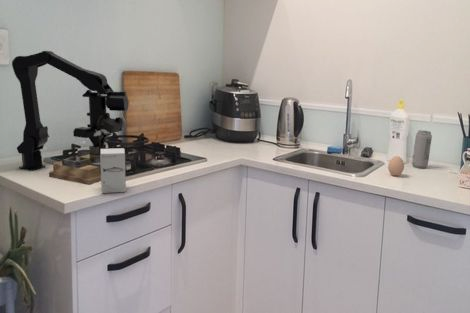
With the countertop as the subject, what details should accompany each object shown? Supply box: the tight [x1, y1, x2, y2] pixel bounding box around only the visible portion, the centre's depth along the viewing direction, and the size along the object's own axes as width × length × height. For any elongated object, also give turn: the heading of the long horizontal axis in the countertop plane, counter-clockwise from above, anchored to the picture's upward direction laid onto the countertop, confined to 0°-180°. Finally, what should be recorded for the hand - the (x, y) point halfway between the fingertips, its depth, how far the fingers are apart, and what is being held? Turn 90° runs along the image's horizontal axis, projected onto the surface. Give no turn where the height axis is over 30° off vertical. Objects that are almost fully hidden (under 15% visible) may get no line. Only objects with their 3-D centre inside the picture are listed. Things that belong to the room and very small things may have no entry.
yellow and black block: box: [78, 145, 100, 163], centre depth 147 cm, size 4×6×5 cm, turn 155°
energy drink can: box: [411, 129, 433, 169], centre depth 172 cm, size 6×6×15 cm
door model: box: [48, 152, 101, 185], centre depth 146 cm, size 18×16×6 cm
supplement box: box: [99, 147, 127, 194], centre depth 130 cm, size 7×7×13 cm
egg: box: [387, 155, 405, 177], centre depth 159 cm, size 6×6×8 cm
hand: (99, 153), depth 151 cm, fingers closed
